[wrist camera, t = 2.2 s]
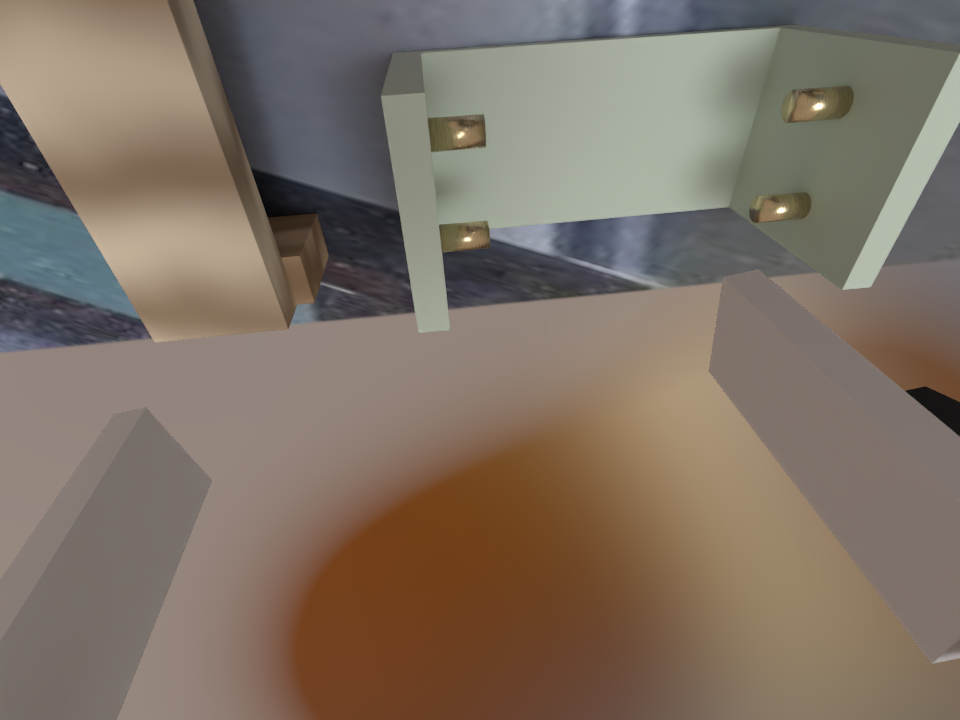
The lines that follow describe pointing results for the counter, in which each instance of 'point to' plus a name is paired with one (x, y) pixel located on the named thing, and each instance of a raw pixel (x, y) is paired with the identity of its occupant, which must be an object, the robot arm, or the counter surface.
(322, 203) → the counter surface
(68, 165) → the shelf board
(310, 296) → the blocks
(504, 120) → the shelf frame
